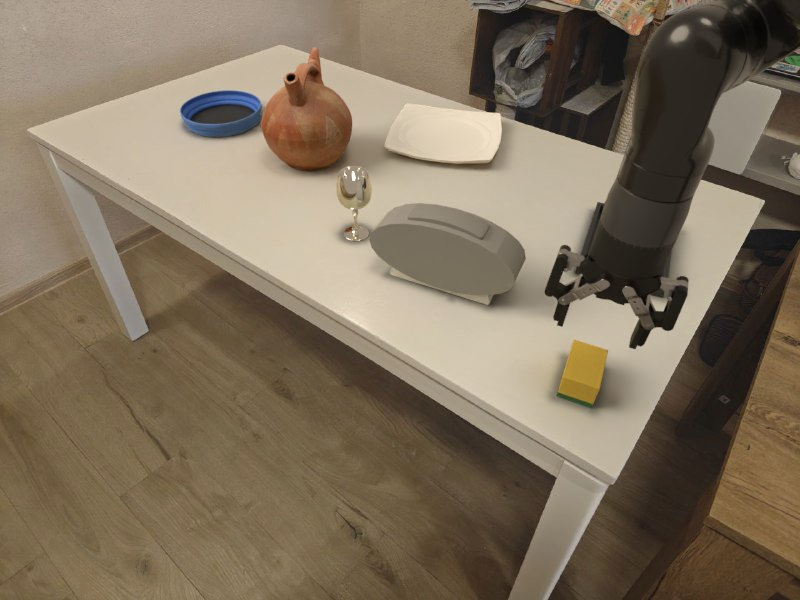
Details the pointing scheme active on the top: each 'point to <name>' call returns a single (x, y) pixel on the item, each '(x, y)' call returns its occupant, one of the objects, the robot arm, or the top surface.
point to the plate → (445, 134)
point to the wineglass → (354, 197)
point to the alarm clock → (448, 250)
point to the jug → (307, 120)
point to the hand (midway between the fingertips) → (596, 332)
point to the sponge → (583, 373)
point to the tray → (590, 238)
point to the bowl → (221, 113)
